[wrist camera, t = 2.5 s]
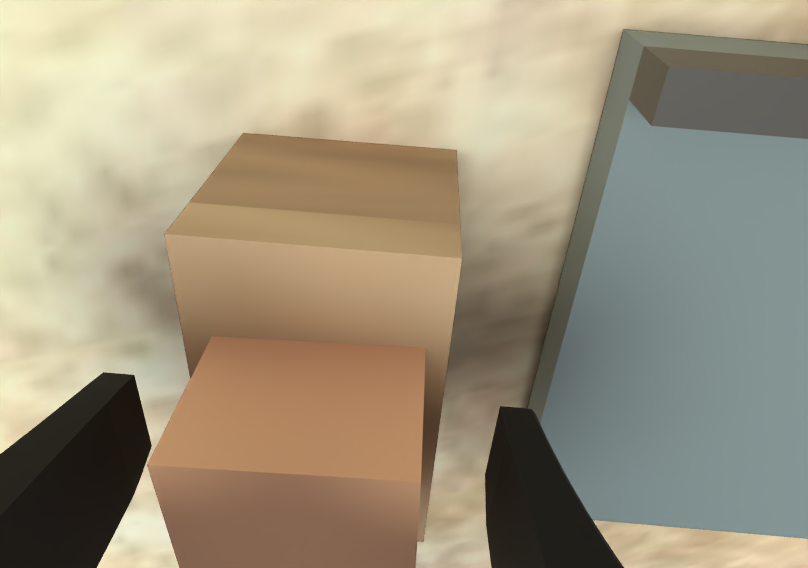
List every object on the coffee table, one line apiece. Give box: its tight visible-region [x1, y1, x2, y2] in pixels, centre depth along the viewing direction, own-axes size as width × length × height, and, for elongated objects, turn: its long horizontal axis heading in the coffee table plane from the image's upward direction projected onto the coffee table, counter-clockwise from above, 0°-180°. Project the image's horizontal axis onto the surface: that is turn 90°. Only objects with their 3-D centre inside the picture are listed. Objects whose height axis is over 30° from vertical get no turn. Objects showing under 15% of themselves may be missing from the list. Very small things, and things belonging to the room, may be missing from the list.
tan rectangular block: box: [164, 133, 462, 542], centre depth 14 cm, size 8×5×5 cm, turn 176°
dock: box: [528, 29, 808, 539], centre depth 15 cm, size 14×11×3 cm
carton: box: [147, 336, 426, 568], centre depth 11 cm, size 4×4×3 cm
